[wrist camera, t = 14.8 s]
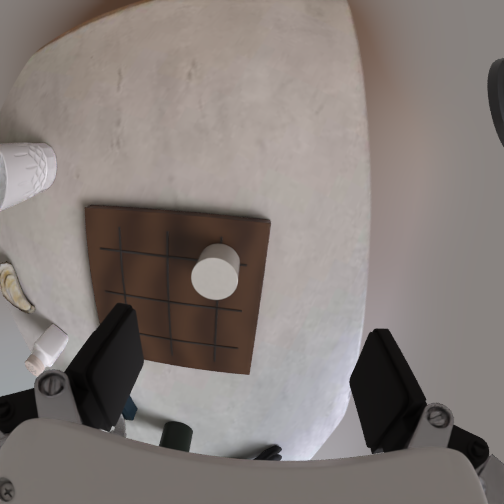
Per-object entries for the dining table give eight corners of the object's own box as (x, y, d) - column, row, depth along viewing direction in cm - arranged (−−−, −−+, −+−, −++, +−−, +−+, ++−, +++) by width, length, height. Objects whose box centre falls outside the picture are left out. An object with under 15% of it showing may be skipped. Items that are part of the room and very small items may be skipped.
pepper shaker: (53, 321, 37) (23, 354, 28) (70, 336, 38) (42, 371, 29) (49, 333, 38) (22, 366, 29) (65, 347, 39) (40, 382, 30)
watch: (118, 411, 45) (101, 451, 35) (101, 385, 42) (79, 428, 32) (141, 414, 45) (126, 458, 34) (126, 388, 42) (105, 435, 32)
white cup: (32, 203, 30) (-16, 224, 21) (19, 154, 27) (-31, 164, 18) (67, 182, 29) (14, 199, 20) (52, 128, 26) (-1, 131, 17)
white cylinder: (242, 245, 30) (239, 260, 26) (238, 283, 32) (235, 302, 28) (199, 241, 30) (191, 255, 26) (198, 279, 32) (190, 297, 28)
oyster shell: (41, 283, 39) (0, 254, 32) (46, 289, 38) (2, 259, 30) (28, 311, 37) (-14, 284, 30) (32, 318, 35) (-13, 291, 28)
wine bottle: (173, 436, 47) (147, 557, 19) (159, 421, 45) (125, 551, 17) (197, 435, 46) (176, 564, 19) (184, 420, 45) (156, 560, 17)
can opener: (241, 471, 53) (240, 489, 48) (218, 463, 52) (216, 482, 46) (292, 448, 48) (294, 469, 43) (268, 440, 47) (268, 462, 41)
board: (270, 219, 31) (271, 223, 29) (249, 367, 39) (249, 375, 37) (90, 204, 30) (83, 207, 29) (110, 345, 38) (105, 351, 37)
